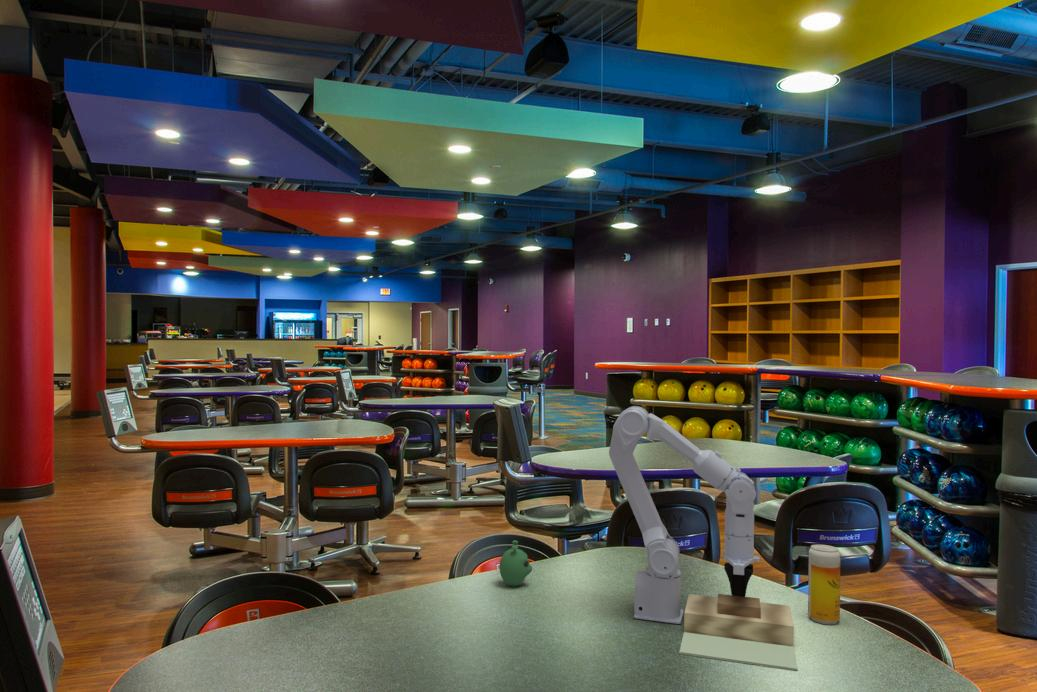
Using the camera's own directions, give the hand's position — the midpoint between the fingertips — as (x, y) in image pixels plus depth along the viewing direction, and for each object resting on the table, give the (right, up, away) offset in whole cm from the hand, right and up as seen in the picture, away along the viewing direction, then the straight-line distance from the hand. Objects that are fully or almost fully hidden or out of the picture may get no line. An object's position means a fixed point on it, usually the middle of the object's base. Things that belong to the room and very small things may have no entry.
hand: (738, 600), depth 143 cm
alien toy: (-45, -5, +22) cm, 51 cm away
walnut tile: (-1, -1, -4) cm, 4 cm away
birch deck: (-1, -5, -3) cm, 6 cm away
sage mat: (-5, -4, -14) cm, 15 cm away
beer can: (+19, -5, +3) cm, 20 cm away
